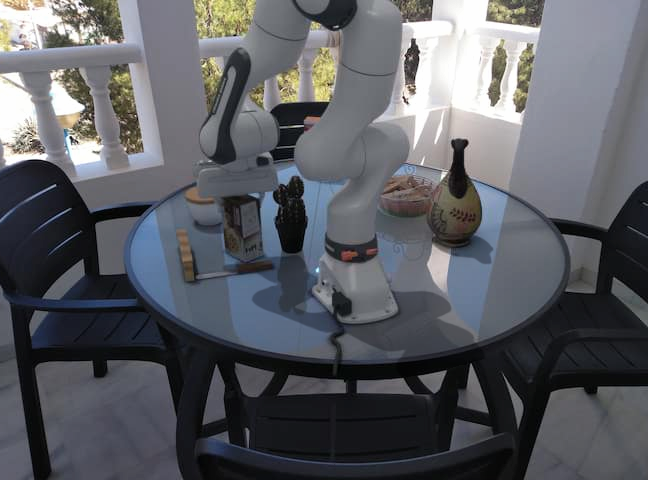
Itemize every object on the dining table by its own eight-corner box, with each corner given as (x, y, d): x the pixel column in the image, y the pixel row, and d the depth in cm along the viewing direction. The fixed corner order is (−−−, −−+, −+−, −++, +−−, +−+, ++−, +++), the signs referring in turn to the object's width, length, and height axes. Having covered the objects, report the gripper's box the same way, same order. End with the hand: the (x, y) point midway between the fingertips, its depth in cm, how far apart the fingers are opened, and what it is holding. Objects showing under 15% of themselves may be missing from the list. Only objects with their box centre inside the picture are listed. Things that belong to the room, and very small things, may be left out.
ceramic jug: (425, 226, 161) (435, 126, 146) (477, 231, 158) (493, 130, 144) (420, 251, 147) (431, 143, 132) (478, 257, 144) (496, 148, 129)
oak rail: (195, 280, 131) (192, 260, 128) (185, 281, 130) (182, 261, 128) (188, 247, 146) (185, 228, 143) (179, 248, 145) (176, 229, 143)
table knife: (273, 268, 137) (272, 263, 136) (196, 280, 131) (195, 274, 130) (271, 264, 138) (270, 259, 138) (195, 276, 133) (194, 270, 132)
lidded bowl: (206, 209, 169) (202, 176, 164) (239, 217, 164) (236, 183, 159) (179, 224, 159) (174, 189, 154) (213, 233, 154) (210, 197, 149)
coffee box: (264, 255, 143) (260, 198, 135) (245, 263, 139) (240, 205, 131) (243, 244, 149) (238, 189, 141) (224, 251, 144) (218, 195, 136)
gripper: (193, 165, 125) (200, 219, 132) (279, 158, 131) (281, 210, 138) (190, 157, 130) (197, 209, 137) (273, 150, 136) (275, 200, 143)
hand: (240, 209), depth 138 cm, fingers open, 8 cm apart
